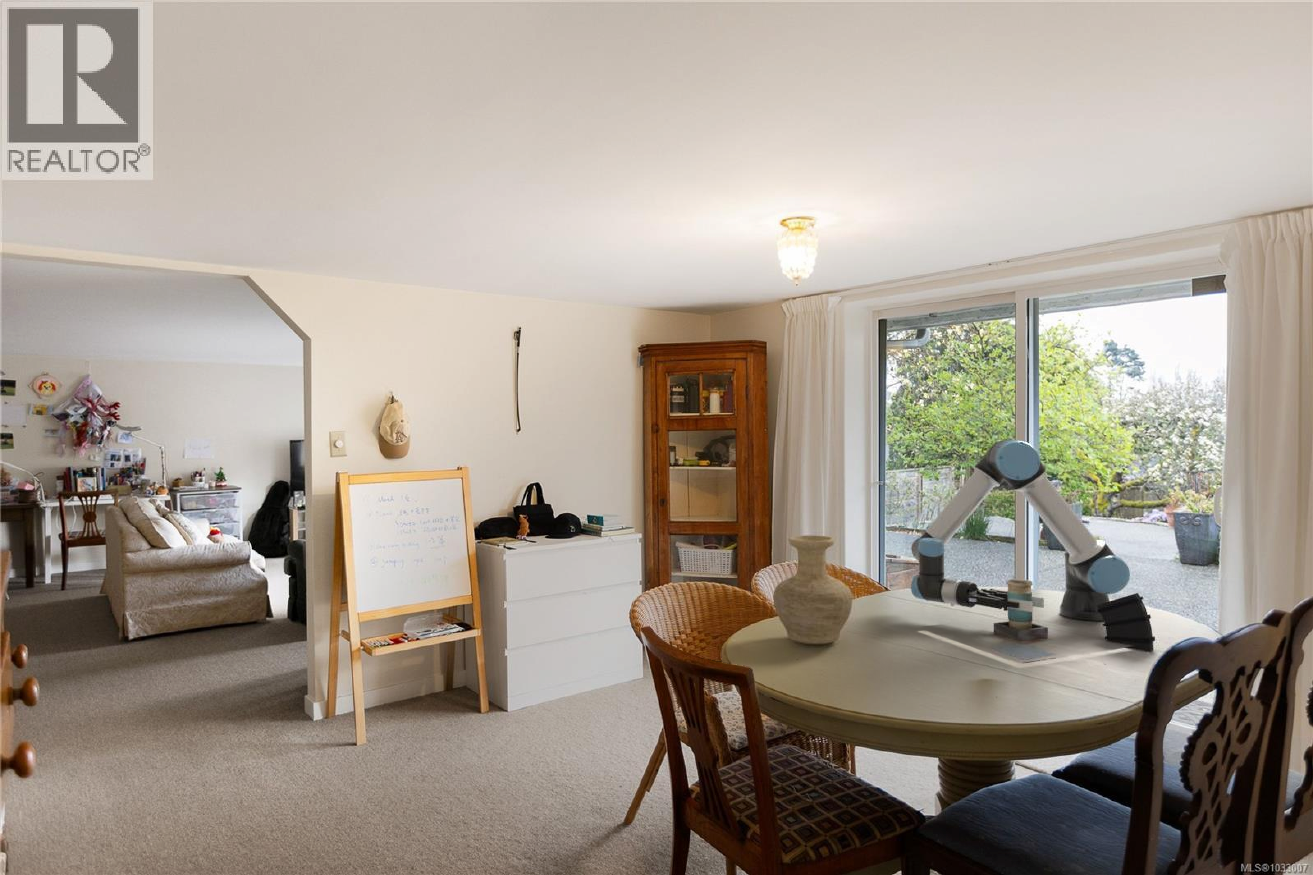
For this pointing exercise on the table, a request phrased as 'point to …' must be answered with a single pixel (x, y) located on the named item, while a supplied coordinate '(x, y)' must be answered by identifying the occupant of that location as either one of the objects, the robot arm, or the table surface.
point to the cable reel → (1019, 591)
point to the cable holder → (1021, 633)
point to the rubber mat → (1024, 652)
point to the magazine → (1128, 622)
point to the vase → (812, 595)
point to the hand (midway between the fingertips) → (1037, 604)
